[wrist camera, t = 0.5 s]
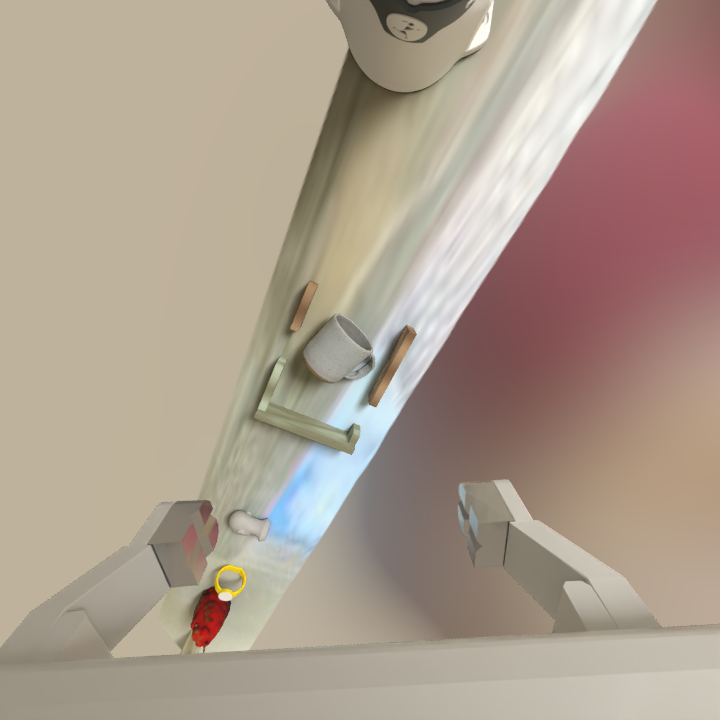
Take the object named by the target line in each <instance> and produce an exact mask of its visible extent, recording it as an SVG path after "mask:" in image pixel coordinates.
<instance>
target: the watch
mask: <svg viewBox="0 0 720 720" xmlns="http://www.w3.org/2000/svg"><path fill="white" fill-rule="evenodd" d="M226 570H230V571H233V572H236V573H239V574H240V576H241V577H242V587H241V588H240V589H239V590H238V591H236V592H232V591H231V590H229V589H221V587H220V586H219V582H218V578H219V575H220V574H221V573H222V572H224V571H226ZM245 583H246V575H245V572H244V571H243V569H242V568H238V567H235V566H232V565H227V566H224V567H223V568H222V569H221V570H220V571H219V572H218V574H217V576H216V579H215V582H214V585H215V590H216V591H217V593H218V594H219V595H218V597H219V599H221V600H223V601H229V600H231V599H232V597H235V596H237V595H238V594H239V593H240V592H241V591H242V589H243V588H244V585H245Z"/></svg>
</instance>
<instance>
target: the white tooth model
mask: <svg viewBox="0 0 720 720" xmlns="http://www.w3.org/2000/svg"><path fill="white" fill-rule="evenodd" d="M191 635H192V630H191V632H190V635H189V637H188V639H187V641H186V643H185V645H184V647H183V649H182V651H181V653H180V654H197V653H199V651H200V647H197V646H196V645H195V641H193V640H192V637H191Z"/></svg>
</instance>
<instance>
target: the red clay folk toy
mask: <svg viewBox="0 0 720 720" xmlns="http://www.w3.org/2000/svg"><path fill="white" fill-rule="evenodd" d="M218 595H219V594H218V593H217V591H216V590H215V587H214V588H213V587H212V588H210V589H209V590H206V591H204V592H203V594H202V597H201V598H200V600H199V602H198V604H197V606H196V609H195V611H194V617H193V621H192V623H191V628H192V635H191V637H192V640H193V641H195V645H196V646H197V647H201V646H203V648H204V649H203V653H204V651H205V647H206V646H207V645H209V643H210V642H211V641H212V640H213V639H214V638H215V636H216V635H217V633H218V632H219V630H220V629H221V627H222V625H223V623H224V621H225V619H226V617H227V616H228V613H229V610H230V605H231V601H230V600H229V601H223V600H221V599H219V597H218Z"/></svg>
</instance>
